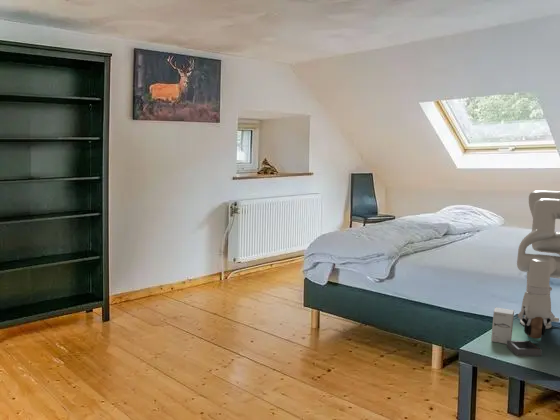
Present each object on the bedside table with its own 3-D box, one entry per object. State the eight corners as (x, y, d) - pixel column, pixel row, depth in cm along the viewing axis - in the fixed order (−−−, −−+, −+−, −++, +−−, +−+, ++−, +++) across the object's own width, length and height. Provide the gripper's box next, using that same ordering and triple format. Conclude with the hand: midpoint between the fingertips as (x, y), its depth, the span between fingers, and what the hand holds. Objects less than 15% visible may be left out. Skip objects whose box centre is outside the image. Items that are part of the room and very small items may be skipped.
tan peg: (537, 337, 215) (539, 313, 214) (543, 342, 210) (545, 317, 209) (524, 337, 215) (526, 313, 214) (530, 342, 210) (532, 317, 209)
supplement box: (490, 341, 214) (492, 311, 212) (492, 336, 220) (494, 306, 219) (510, 345, 210) (512, 314, 209) (512, 339, 217) (514, 309, 215)
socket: (529, 347, 209) (529, 340, 208) (541, 355, 200) (541, 349, 199) (506, 346, 208) (507, 340, 208) (517, 355, 200) (518, 349, 199)
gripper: (554, 287, 214) (550, 330, 216) (512, 287, 213) (509, 330, 216) (564, 292, 206) (560, 337, 209) (521, 292, 206) (517, 337, 208)
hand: (534, 333), depth 212 cm, fingers closed on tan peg, 5 cm apart
